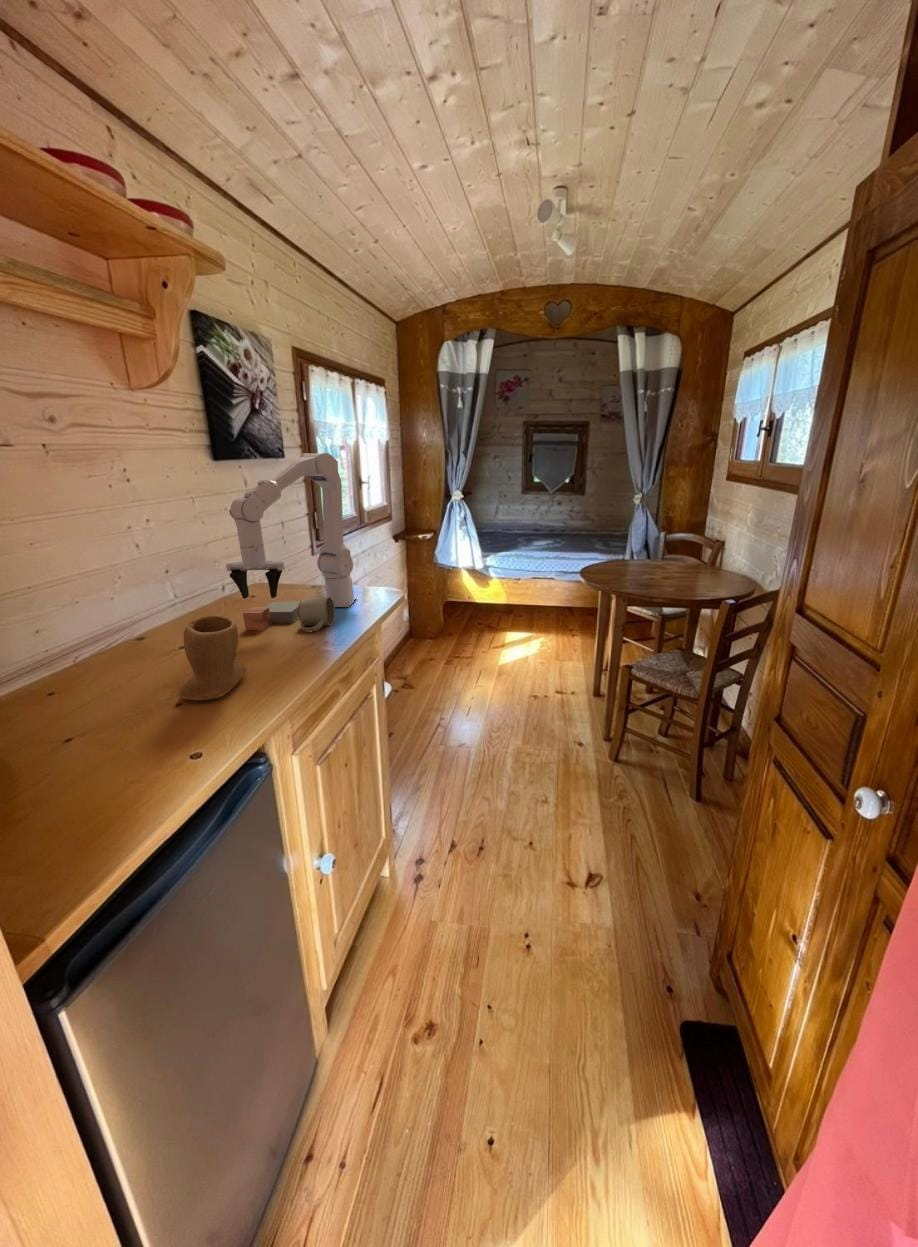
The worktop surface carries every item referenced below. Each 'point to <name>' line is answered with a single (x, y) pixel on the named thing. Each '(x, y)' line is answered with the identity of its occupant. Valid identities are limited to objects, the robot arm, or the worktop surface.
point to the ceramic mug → (316, 613)
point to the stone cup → (211, 657)
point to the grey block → (283, 611)
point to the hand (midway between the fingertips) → (260, 597)
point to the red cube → (257, 618)
